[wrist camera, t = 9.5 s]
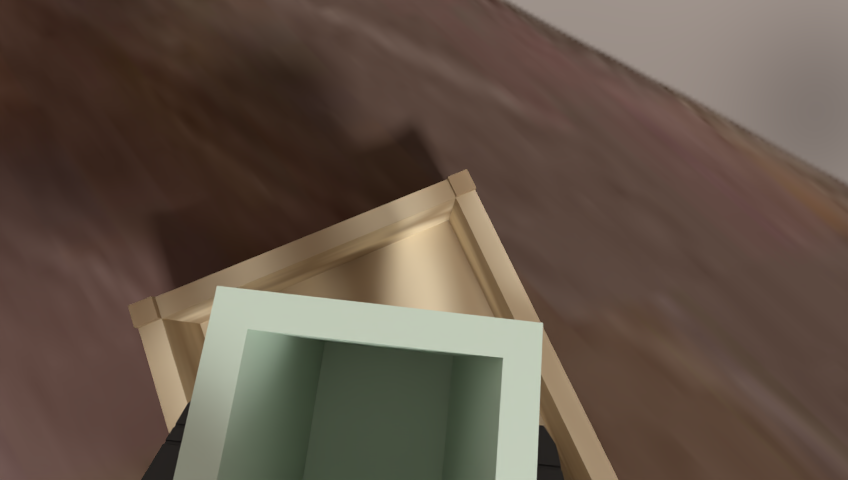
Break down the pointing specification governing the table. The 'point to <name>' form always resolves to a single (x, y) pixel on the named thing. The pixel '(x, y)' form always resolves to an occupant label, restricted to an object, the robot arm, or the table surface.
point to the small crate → (360, 393)
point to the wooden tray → (380, 297)
